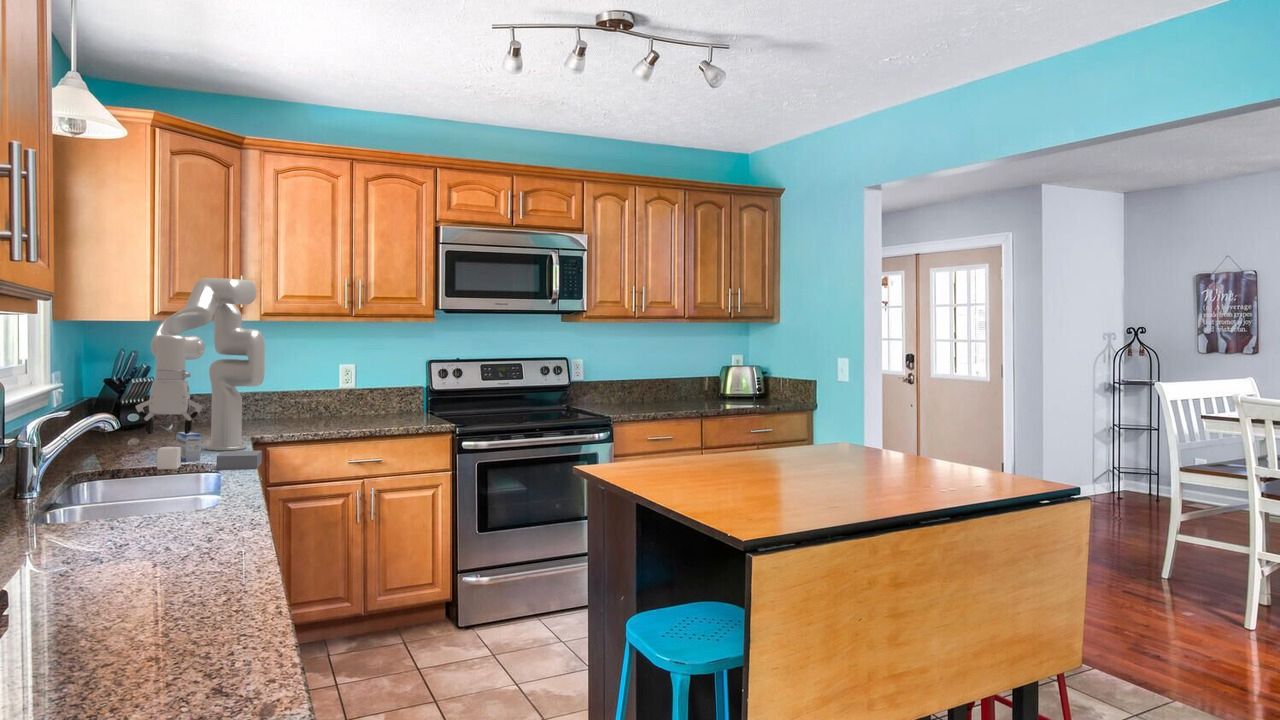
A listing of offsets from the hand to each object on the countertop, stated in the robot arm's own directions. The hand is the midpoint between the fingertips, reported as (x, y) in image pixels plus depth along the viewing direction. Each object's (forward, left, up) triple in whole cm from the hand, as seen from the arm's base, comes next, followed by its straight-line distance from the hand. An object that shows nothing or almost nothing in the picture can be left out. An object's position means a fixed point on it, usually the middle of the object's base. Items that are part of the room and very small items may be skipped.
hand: (168, 433), depth 234 cm
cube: (-1, 0, -10) cm, 10 cm away
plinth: (-1, +19, -10) cm, 22 cm away
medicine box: (-17, +2, -11) cm, 20 cm away
